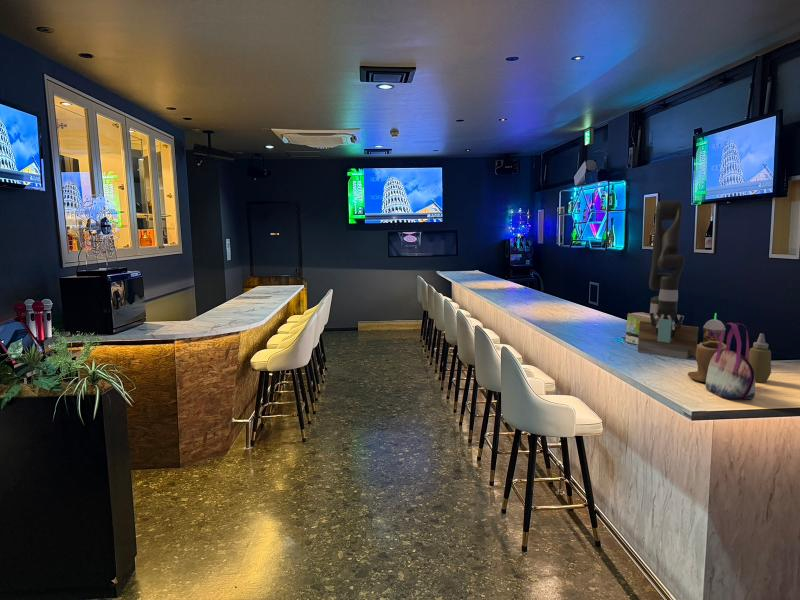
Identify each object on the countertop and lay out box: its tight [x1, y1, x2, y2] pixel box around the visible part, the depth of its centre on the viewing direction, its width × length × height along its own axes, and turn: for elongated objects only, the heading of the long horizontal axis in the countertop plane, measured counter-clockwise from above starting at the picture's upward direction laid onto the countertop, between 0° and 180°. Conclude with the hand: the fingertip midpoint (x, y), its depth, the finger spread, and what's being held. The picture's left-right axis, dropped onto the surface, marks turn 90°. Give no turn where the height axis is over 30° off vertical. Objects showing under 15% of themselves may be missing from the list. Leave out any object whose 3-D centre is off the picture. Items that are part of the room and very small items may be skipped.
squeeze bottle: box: [749, 333, 772, 383], centre depth 195 cm, size 8×8×18 cm
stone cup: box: [687, 341, 726, 383], centre depth 194 cm, size 15×12×15 cm
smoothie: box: [702, 312, 726, 343], centre depth 229 cm, size 8×8×20 cm
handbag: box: [705, 322, 756, 400], centre depth 179 cm, size 21×10×25 cm, turn 2°
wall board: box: [637, 321, 699, 360], centre depth 237 cm, size 10×24×13 cm, turn 51°
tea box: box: [625, 311, 659, 346], centre depth 255 cm, size 15×10×15 cm, turn 25°
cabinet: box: [657, 319, 673, 343], centre depth 235 cm, size 6×5×12 cm
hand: (665, 336), depth 236 cm, fingers closed on cabinet, 5 cm apart
